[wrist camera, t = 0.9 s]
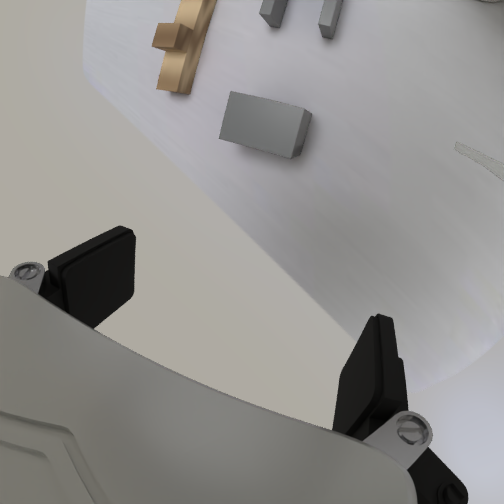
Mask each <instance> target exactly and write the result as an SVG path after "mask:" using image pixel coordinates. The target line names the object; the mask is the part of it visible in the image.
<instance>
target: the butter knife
mask: <svg viewBox="0 0 504 504" xmlns="http://www.w3.org/2000/svg"><path fill="white" fill-rule="evenodd" d="M454 149H455V150H456V151H458V152H459V153H461V154H463V155H465V156H467V157H469V158H471V159H472V160H474V161H476V162H478V163H479V164H481V165H483V166H484V167H486V168H487V169H488V170H490V171H491V172H492V173H494V174H495V175H496V176H498V177H499V178H500V179H502V180H503V181H504V164H502V163H500V162H498V161H496V160H494V159H492V158H490V157H488V156H486V155H484V154H482V153H480V152H477V151H475V150H473V149H471V148H469V147H467V146H465V145H463V144H460V143H458V142H456V144H455V147H454Z"/></svg>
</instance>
